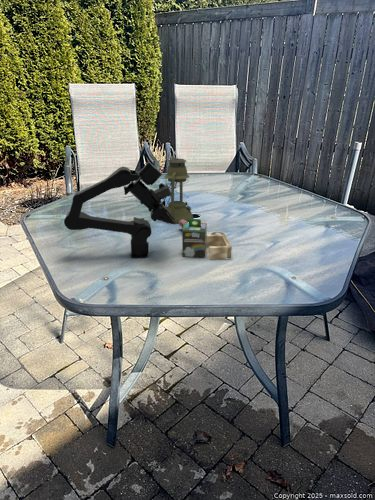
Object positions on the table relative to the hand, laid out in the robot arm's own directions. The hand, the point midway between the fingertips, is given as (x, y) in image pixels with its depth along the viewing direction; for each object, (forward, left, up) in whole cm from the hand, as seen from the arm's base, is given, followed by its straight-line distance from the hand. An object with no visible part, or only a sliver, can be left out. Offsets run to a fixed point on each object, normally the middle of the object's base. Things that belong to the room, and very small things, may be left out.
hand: (173, 221), depth 147 cm
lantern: (+5, +44, -14) cm, 46 cm away
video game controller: (+8, +24, -14) cm, 29 cm away
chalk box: (+9, 0, -14) cm, 16 cm away
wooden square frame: (+18, 0, -14) cm, 22 cm away
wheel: (+21, +14, -14) cm, 28 cm away
